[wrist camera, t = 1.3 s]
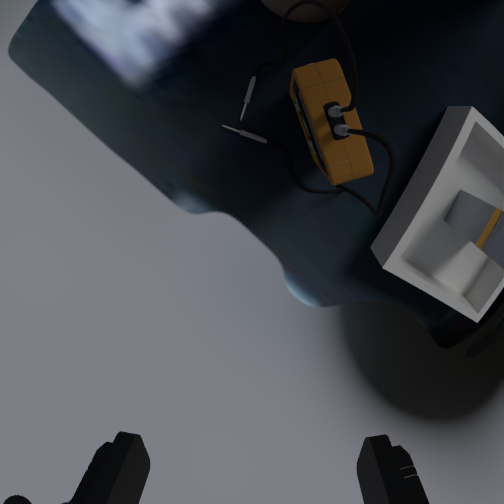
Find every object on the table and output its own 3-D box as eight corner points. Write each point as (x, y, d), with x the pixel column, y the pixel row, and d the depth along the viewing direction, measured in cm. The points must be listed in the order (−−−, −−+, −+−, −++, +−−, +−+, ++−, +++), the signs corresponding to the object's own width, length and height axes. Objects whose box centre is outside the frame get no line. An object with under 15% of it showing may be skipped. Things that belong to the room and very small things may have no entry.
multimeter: (205, 83, 27) (90, 39, 9) (302, 50, 25) (328, -54, 7) (256, 217, 32) (219, 345, 14) (350, 188, 30) (433, 287, 12)
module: (442, 220, 29) (485, 253, 21) (460, 188, 27) (508, 213, 19) (470, 241, 30) (512, 277, 21) (487, 211, 28) (533, 241, 20)
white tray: (447, 106, 25) (472, 106, 21) (529, 186, 27) (553, 196, 22) (370, 247, 32) (382, 267, 28) (461, 301, 34) (477, 322, 29)
